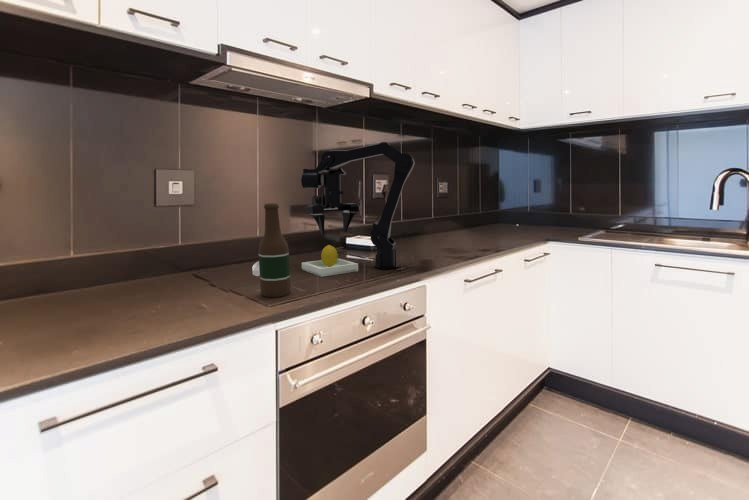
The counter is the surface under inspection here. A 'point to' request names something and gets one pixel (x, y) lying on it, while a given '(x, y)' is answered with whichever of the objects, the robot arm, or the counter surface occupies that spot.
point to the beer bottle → (273, 256)
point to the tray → (324, 270)
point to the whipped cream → (256, 269)
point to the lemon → (329, 256)
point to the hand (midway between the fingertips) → (333, 233)
